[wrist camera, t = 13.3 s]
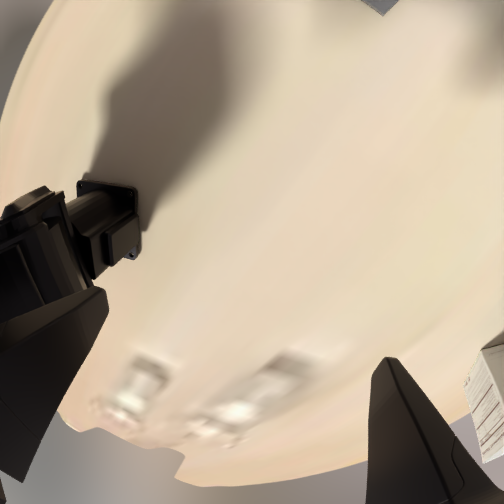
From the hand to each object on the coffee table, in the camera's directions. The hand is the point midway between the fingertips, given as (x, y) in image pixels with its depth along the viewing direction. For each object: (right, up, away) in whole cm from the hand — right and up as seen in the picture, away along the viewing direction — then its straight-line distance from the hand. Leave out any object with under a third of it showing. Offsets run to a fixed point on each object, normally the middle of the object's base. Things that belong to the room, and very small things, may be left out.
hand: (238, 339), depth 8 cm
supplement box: (+30, -11, +15) cm, 36 cm away
